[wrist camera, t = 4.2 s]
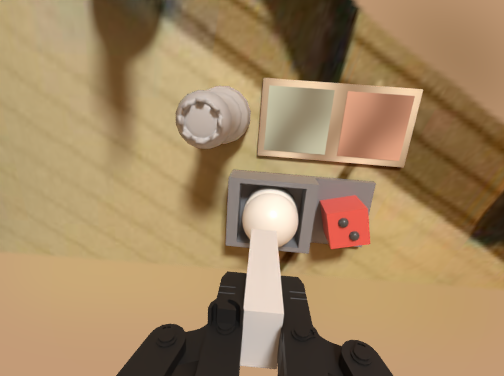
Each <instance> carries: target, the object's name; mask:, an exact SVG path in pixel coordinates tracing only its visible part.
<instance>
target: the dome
mask: <svg viewBox="0 0 504 376" xmlns="http://www.w3.org/2000/svg"><path fill="white" fill-rule="evenodd" d="M298 221H299V220H298V213H297V209H296V205H295V201H294V199H293V197H292V195H291V194H290V193H289V192H288V191H287V190H286V189H284V188H282V187H278V186H267V185H264V186H261V187H258V188H257V189H255V190H254V191H253V192H251V194H250V195H249V196H248V198H247V200H246V203H245V207H244V211H243V216H242V223H243V228H244V231H245V233H246V235H247V236H248V238H249V239H251V229H257V230H269V231H277V242H278V247H280V246H283V245H284V244H286V243H287V242H289V241H290V240H291V239H292V238H293V236H294V235H295V233H296V231H297V228H298Z"/></svg>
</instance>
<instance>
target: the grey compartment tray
mask: <svg viewBox="0 0 504 376" xmlns="http://www.w3.org/2000/svg"><path fill="white" fill-rule="evenodd" d="M375 184H376V183H374V182H371V181H359V180H348V179H336V178H324V177H313V176H301V175H290V174H278V173H266V172H255V171H243V170H233V171H232V172H231V174H230V176H229V184H228V205H227V226H226V246H236V247H247V248H250V239H249V238H248V236H247V235H246V233H245V231H244V228H243V223H242V216H243V211H244V207H245V203H246V200H247V198H248V196H249V195H250V194H251V192H253V191H254V190H255V189H257V188H258V187H261V186H264V185H267V186H278V187H282V188H284V189H286V190H287V191H288V192H289V193H290V194H291V195H292V197H293V199H294V201H295V205H296V209H297V213H298V220H299V221H298V228H297V231H296V233H295V235H294V236H293V238H292V239H291V240H290V241H289V242H287V243H286V244H284V245H283V246H280V247H278V251H287V252H298V253H308V254H309V248H310V242H313V243H323V244H329V246H330V248H331V249H336V248H344V247H351V246H354V247H362V245H366V244H370V233H369V219H368V216H369V211H370V207H371V202H372V198H373V193H374V189H375Z"/></svg>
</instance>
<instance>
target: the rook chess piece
mask: <svg viewBox="0 0 504 376" xmlns="http://www.w3.org/2000/svg"><path fill="white" fill-rule="evenodd" d="M250 112H251V111H250V108H249V105H248V102H247V100H246V99H245V98H244V97H243V95H242V94H241V93H240V92H239V91H237V90H235V89H233V88H231V87H229V86H215V87H213V88H210V89H207V90H205V91H204V90H197V91H194V92H192V93H189V94H187V95H186V96H185V97H184V98H183V99H182V100H181V101H180V103H179V105H178V108H177V111H176V126H177V128H178V131H179V133H180V135H181V136H182V137H183V138H184V139H185V141H186V142H187V143H188V144H190V145H192V146H194V147H197V148H201V149H211V148H213V147H216V146H219V145H220V144H227V143H230V142H233V141H235V140H238V139H239V138H240V137H241V136H242V135H243V134H244V133H245V132H246V130H247V128H248V126H249V124H250Z"/></svg>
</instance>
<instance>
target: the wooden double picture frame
mask: <svg viewBox="0 0 504 376" xmlns="http://www.w3.org/2000/svg"><path fill="white" fill-rule="evenodd" d="M422 92H423V89H410V88H396V87H382V86H368V85H354V84H340V83H327V82H313V81H299V80H285V79H271V78H263V91H262V104H261V116H260V129H259V141H258V154H257V155H262V156H274V157H286V158H298V159H310V160H322V161H334V162H346V163H358V164H370V165H381V166H393V167H404V164H405V160H406V156H407V152H408V148H409V144H410V140H411V136H412V132H413V128H414V124H415V120H416V116H417V112H418V108H419V104H420V100H421V96H422Z"/></svg>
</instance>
